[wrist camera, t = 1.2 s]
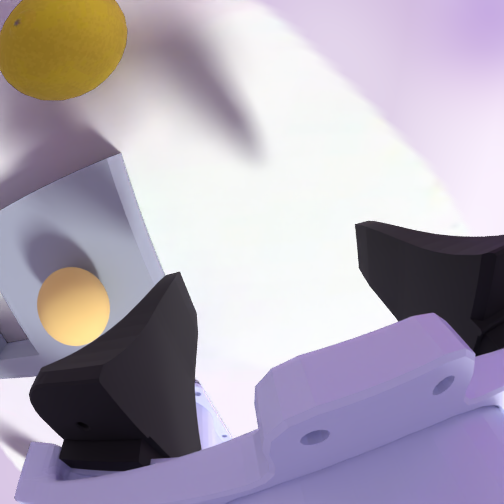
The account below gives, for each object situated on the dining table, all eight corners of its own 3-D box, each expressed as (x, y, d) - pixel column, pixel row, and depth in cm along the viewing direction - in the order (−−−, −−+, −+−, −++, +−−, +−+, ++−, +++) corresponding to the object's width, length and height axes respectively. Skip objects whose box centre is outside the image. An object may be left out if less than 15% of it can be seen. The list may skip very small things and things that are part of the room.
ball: (129, 308, 16) (112, 356, 12) (75, 321, 16) (52, 365, 12) (100, 245, 14) (70, 283, 11) (45, 264, 14) (11, 302, 11)
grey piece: (188, 329, 20) (185, 376, 16) (1, 362, 20) (-17, 393, 16) (121, 153, 15) (90, 164, 11) (-61, 250, 15) (-91, 274, 11)
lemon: (41, 93, 12) (-51, 91, 5) (79, 8, 11) (7, -41, 3) (118, 114, 14) (43, 112, 7) (160, 23, 12) (120, -44, 5)
